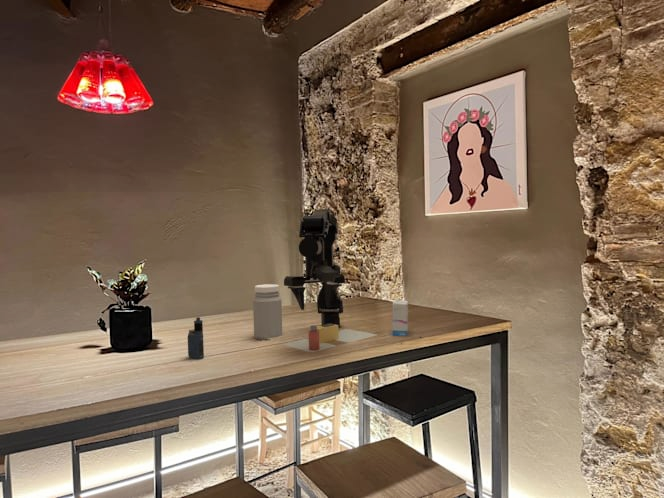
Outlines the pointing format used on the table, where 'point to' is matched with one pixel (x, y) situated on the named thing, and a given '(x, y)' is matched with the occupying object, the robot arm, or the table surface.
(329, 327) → the block
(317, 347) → the small red bottle
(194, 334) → the vaping device
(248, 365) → the table surface
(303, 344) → the subfloor panel
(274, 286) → the jar
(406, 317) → the ink box
